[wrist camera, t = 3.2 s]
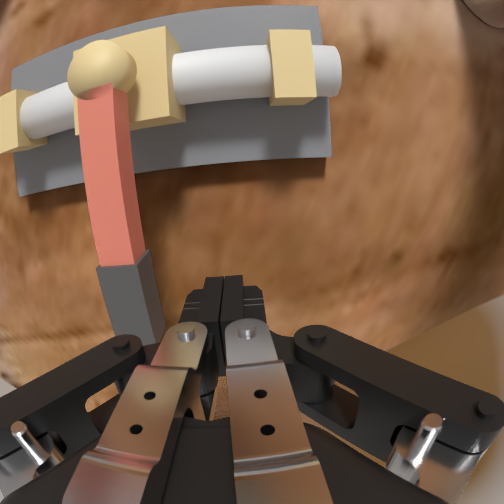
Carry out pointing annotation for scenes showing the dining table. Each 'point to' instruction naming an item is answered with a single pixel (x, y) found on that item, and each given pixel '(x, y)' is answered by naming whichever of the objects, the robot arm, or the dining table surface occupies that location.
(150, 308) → the valve lever
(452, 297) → the dining table surface
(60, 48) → the valve board
